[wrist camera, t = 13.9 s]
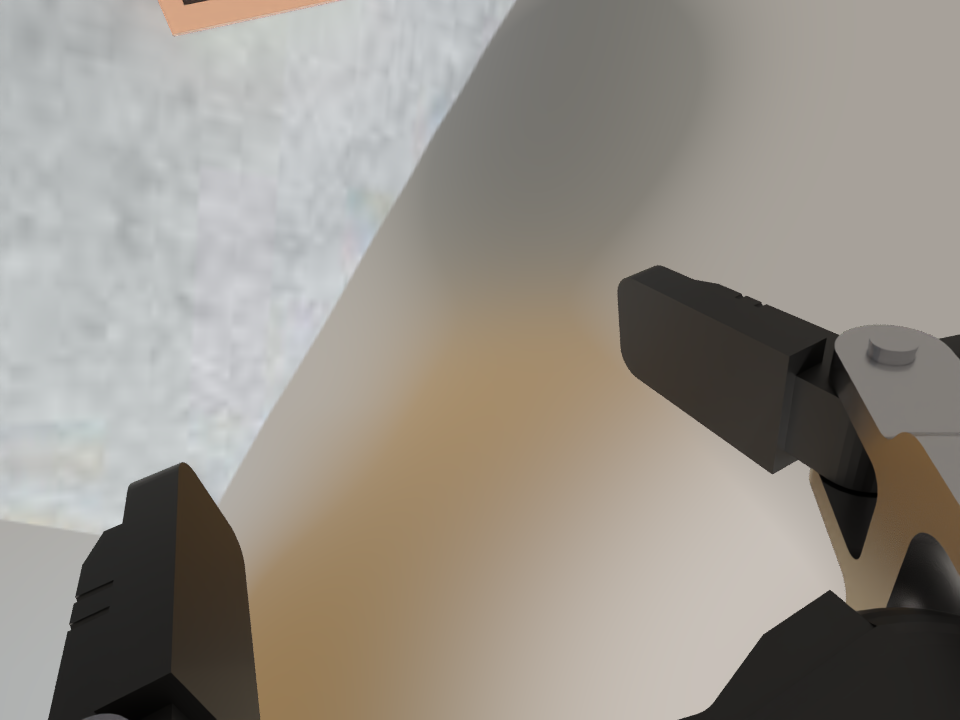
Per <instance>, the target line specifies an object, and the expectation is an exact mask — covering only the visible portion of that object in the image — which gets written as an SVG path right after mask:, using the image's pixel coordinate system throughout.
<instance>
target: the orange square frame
mask: <svg viewBox="0 0 960 720" xmlns="http://www.w3.org/2000/svg"><path fill="white" fill-rule="evenodd" d="M336 1H340V0H208V1H203V2H198V3H193V4H189V5H184V3H183V1H182V0H158V2H159V4H160V6H161V9H162V11H163V13H164V16H165V18H166V20H167V23H168V25H169V27H170V30H171V32H172V34H173V36H174V37H175V36H179V35H184V34H188V33H193V32H198V31H202V30H207V29H211V28H216V27H221V26H225V25H230V24H234V23H239V22H244V21H248V20H253V19H258V18H262V17H267V16H271V15H276V14H281V13H285V12H290V11H294V10H299V9H304V8H308V7H313V6H317V5H322V4H327V3H331V2H336Z"/></svg>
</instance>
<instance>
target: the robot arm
mask: <svg viewBox="0 0 960 720" xmlns="http://www.w3.org/2000/svg"><path fill="white" fill-rule="evenodd" d="M618 311H619V327H620V344H621V353H622V356H623V359H624V361H625V363H626V365H627V367H628V369H629V370H630V371H631V373H632V374H633V375H634V376H635V377H637V378H638V379H640V380H641V381H642V382H643V383H645V384H646V385H648V386H649V387H650V388H652V389H653V390H655V391H656V392H657V393H659V394H660V395H662V396H663V397H665V398H666V399H667V400H669V401H670V402H672V403H673V404H674V405H676V406H677V407H679V408H680V409H681V410H683V411H684V412H686V413H687V414H688V415H690V416H691V417H693V418H694V419H695V420H697V421H698V422H700V423H701V424H702V425H704V426H705V427H707V428H708V429H709V430H711V431H712V432H714V433H715V434H716V435H718V436H719V437H721V438H722V439H723V440H725V441H726V442H728V443H729V444H731V445H732V446H733V447H735V448H736V449H738V450H739V451H740V452H742V453H743V454H745V455H746V456H747V457H749V458H750V459H752V460H753V461H754V462H756V463H757V464H759V465H760V466H761V467H763V468H764V469H766V470H767V471H768V472H770V473H771V474H774V473H776V472H777V471H779V470H781V469H783V468H784V467H786V466H788V465H790V464H791V463H793V462H795V461H797V460H800V461H801V462H802V463H804V464H806V465H807V466H809V467H810V473H809V481H810V485H811V488H812V491H813V493H814V496H815V499H816V501H817V504H818V507H819V510H820V513H821V515H822V518H823V521H824V524H825V527H826V529H827V532H828V535H829V538H830V540H831V543H832V546H833V548H834V551H835V554H836V557H837V560H838V562H839V565H840V568H841V571H842V574H843V578H844V583H845V588H846V603H845V602H844V601H843V600H842V599H840V598H839V597H838V596H837V595H836V594H834V593H833V592H832V591H831V590H829V591H828V592H826V593H825V594H823V595H822V596H820V597H819V598H817V599H816V600H814V601H813V602H811V603H810V604H808V605H807V606H805V607H804V608H802V609H801V610H799V611H798V612H796V613H795V614H793V615H792V616H790V617H789V618H787V619H786V620H785V621H783V622H781V623H780V624H779V625H777V626H775V627H774V628H772V629H771V630H769V631H768V632H767V633H765V634H763V636H762V637H761V638H760V640H759V641H758V642H757V644H756V645H755V647H754V648H753V649H752V651H751V652H750V653H749V655H748V656H747V658H746V659H745V660H744V662H743V663H742V664H741V666H740V667H739V669H738V670H737V671H736V673H735V674H734V675H733V677H732V678H731V680H730V681H729V682H728V684H727V685H726V686H725V688H724V689H723V690H722V692H721V693H720V695H719V696H718V697H717V699H716V700H715V702H714V703H713V704H712V705H711V706H710V707H709V708H708V709H706V710H705V711H703V712H701V713H699V714H696V715H692V716H689V717H686V718H682V719H679V720H960V335H955V336H950V337H946V338H940V339H938V338H936V337H933V336H932V335H930V334H927V333H924V332H922V331H918V330H915V329H911V328H907V327H901V326H894V325H867V326H860V327H856V328H853V329H849V330H847V331H845V332H843V333H842V334H841V335H838V334H836V333H833V332H831V331H828V330H826V329H824V328H821V327H819V326H816V325H814V324H812V323H810V322H807V321H805V320H802V319H800V318H798V317H795V316H793V315H791V314H788V313H786V312H783V311H781V310H779V309H776V308H774V307H772V306H769V305H767V304H766V305H764V306H763V305H762V304H761V302H760V301H757V300H755V299H753V298H750V297H748V296H745V297H743V296H742V294H741V293H738V292H736V291H734V290H732V289H729V288H727V287H724V286H722V285H720V284H716V283H710V282H704V281H699V280H694V279H691V278H689V277H687V276H684V275H682V274H680V273H677V272H675V271H673V270H670V269H668V268H666V267H663V266H658V265H657V266H654V267H651V268H649V269H646V270H644V271H641V272H639V273H637V274H634V275H632V276H629V277H627V278H624V279H623V280H622V281H621V282H620V284H619V286H618ZM75 597H76V599H77V602H76V603H74V605H73V610H72V614H71V619H70V623H69V625H70V626H71V630H70V631H68V632H67V637H66V641H65V646H64V651H63V655H62V659H61V664H60V668H59V673H58V677H57V682H56V686H55V691H54V695H53V700H52V705H51V709H50V714H49V718H48V720H260V713H259V703H258V693H257V683H256V673H255V663H254V653H253V643H252V634H251V623H250V614H249V603H248V594H247V584H246V574H245V564H244V559H243V555H242V551H241V548H240V545H239V542H238V540H237V538H236V536H235V533H234V531H233V530H232V528H231V526H230V525H229V524H228V522H227V520H226V519H225V517H224V516H223V514H222V513H221V511H220V510H219V508H218V507H217V505H216V504H215V502H214V501H213V499H212V498H211V496H210V495H209V493H208V492H207V490H206V489H205V487H204V486H203V484H202V483H201V481H200V480H199V478H198V477H197V475H196V474H195V472H194V471H193V470H192V468H191V467H190V466H189V465H188V464H186V463H184V462H182V463H179V464H177V465H174V466H172V467H170V468H167V469H165V470H162V471H160V472H157V473H155V474H153V475H150V476H148V477H145V478H143V479H140V480H138V481H136V482H133V483H131V484H130V485H129V487H128V491H127V497H126V504H125V510H124V517H123V523H122V524H120V525H118V526H116V527H113V528H111V529H109V530H106V531H104V532H103V534H102V535H101V537H100V538H99V540H98V542H97V543H96V545H95V547H94V548H93V549H92V551H91V552H90V554H89V556H88V557H87V559H86V560H85V562H84V564H83V565H82V569H81V574H80V578H79V583H78V587H77V592H76V596H75Z"/></svg>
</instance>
